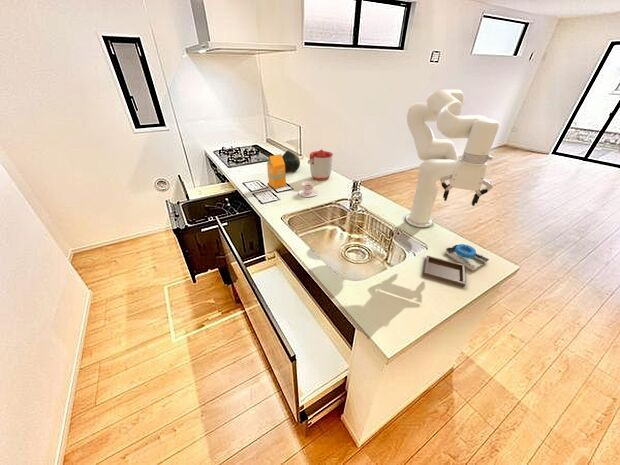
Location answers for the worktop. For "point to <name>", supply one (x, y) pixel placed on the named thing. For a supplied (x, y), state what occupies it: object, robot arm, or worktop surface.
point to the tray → (445, 271)
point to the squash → (291, 161)
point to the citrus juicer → (320, 164)
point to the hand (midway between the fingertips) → (458, 201)
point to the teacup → (308, 190)
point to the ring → (468, 248)
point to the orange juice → (276, 171)
